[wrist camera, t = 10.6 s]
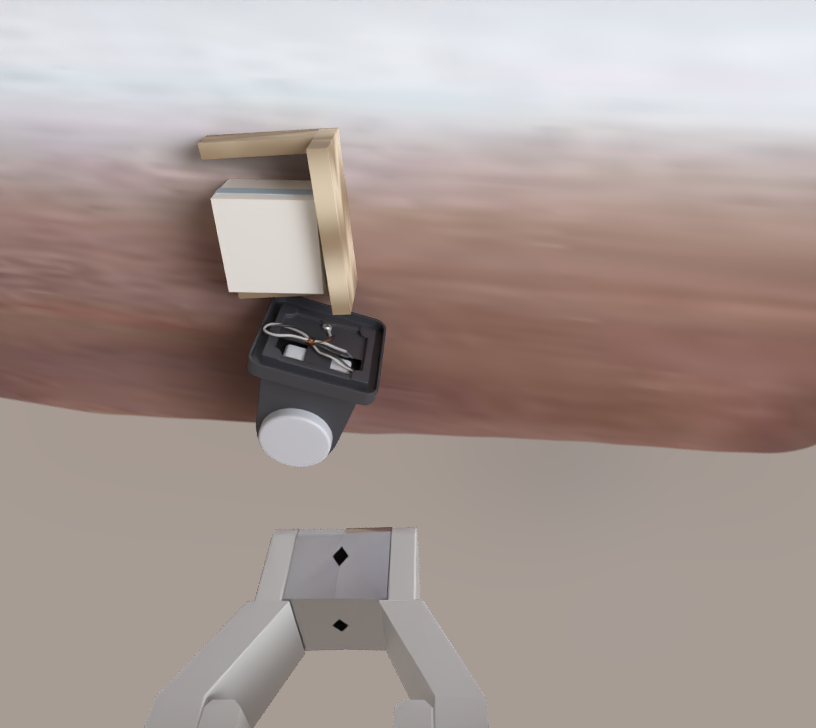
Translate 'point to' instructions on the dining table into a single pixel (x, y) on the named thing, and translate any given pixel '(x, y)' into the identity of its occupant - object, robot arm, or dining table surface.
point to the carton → (269, 236)
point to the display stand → (327, 198)
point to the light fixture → (312, 376)
